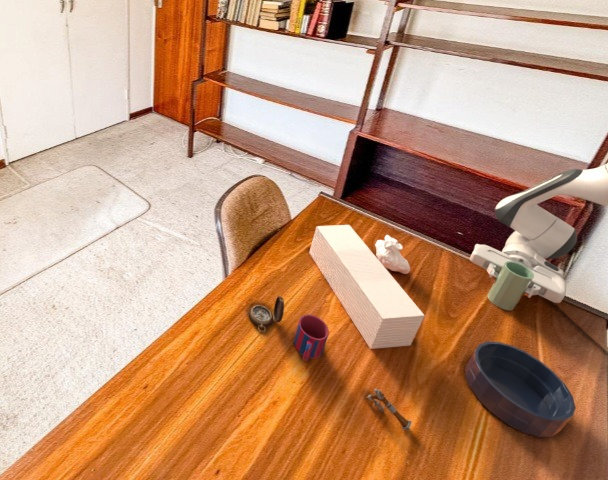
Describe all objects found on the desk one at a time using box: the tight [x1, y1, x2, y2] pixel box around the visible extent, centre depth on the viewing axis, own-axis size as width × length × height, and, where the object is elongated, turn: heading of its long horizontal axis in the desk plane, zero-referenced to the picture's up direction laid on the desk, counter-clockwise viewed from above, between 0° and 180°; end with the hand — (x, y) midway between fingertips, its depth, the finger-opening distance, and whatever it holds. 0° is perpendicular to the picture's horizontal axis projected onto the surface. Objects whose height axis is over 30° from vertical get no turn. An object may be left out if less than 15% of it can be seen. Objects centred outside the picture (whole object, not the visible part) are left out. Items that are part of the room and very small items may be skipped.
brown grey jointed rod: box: [365, 388, 413, 431], centre depth 82 cm, size 2×8×4 cm, turn 46°
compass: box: [248, 295, 285, 333], centre depth 100 cm, size 8×8×7 cm
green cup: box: [486, 261, 534, 311], centre depth 108 cm, size 6×6×12 cm
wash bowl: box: [464, 341, 576, 438], centre depth 86 cm, size 16×16×6 cm
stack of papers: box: [309, 224, 426, 350], centre depth 108 cm, size 32×11×11 cm, turn 6°
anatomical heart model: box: [374, 234, 411, 275], centre depth 119 cm, size 12×8×11 cm
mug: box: [293, 314, 330, 362], centre depth 93 cm, size 7×10×7 cm
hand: (510, 285), depth 107 cm, fingers closed on green cup, 6 cm apart
